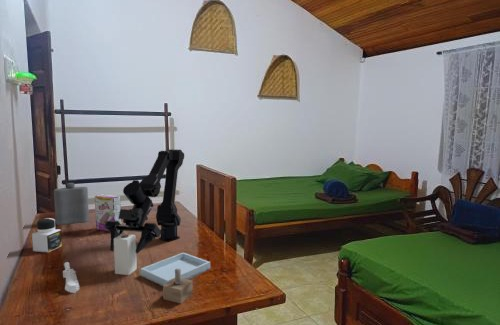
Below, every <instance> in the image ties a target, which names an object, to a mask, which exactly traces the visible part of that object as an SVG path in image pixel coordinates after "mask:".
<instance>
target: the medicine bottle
mask: <svg viewBox="0 0 500 325" xmlns="http://www.w3.org/2000/svg"><path fill="white" fill-rule="evenodd" d="M36 226H37V227H36V228H37V229H36V230H37V231H35V232H33V233H31V236H32V237H31V238H32V239H31V241H32V252H39V253H50V252H52V251H55V250H56V249H59V248H61V247H62V230H61V229H59V228H57V229H56V221H55V218H52V217H51V218H50V217H46V218H41V219H39V220H37V221H36Z"/></svg>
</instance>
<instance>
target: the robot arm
mask: <svg viewBox="0 0 500 325" xmlns="http://www.w3.org/2000/svg"><path fill="white" fill-rule="evenodd" d="M184 159H185V153H184V152H183V150H182V149H169V148H168V149H166V150H160V151H158V154H157V157H156V160H155V161H154V162H153V165H152V167H151V169H150V171H149V173H148V175H146V176H145V177H143V178H142V179H141V181H139V180H138V179H132V181H131V182H129V183H128V184H126V185H125V186H124V187H123V189H122V192H123V194H124V196H125V197H126V199H127V200H128V201H129V202H130V204H132V205H133V206H132V209H131V208H129V209H123V208H121V209H120V213H119V218H118V219H121V220H122V222H123V223H124V224H122V225H121V224H120V223H119V222H118V221H112V220H109V221H107V222H106V224H105V226H104V227H105V228H106V229H107V230H108V231H107V232H109V234H110V249H109V250H110V251H111V252H114V238H116V237H118V236H120V235H121V234H123V232H137V233H140V235H141V236H140V239H139V241H138V244H137V245H136V254H139V253H140V252H141V251H142V250H143V248H145V247H146V246H147V245H148V244H149V243H150V242H152V240H153V241H154V240H156V239H157V238H158V239H160V240H162V241H164V242H169V243H170V242H172V241H174V240H178V239H180V235H179V236H178V226H181V221H182V220H181V219H182V218H181V216H180V215H179V214H178V208H177V206H176V204H175V199H176V189H177V182H178V172H179V169H180V168H181V167H182V166H183V163H184ZM165 171H166V172H165ZM164 174H165V180H164V187H163V188H164V189H163V196H162V202H161V203H160V204H158V205H157V208H156V209H157V210H156V214H155V218H156V223H155V222H146V221H148V219H149V217H148V213H149V211H150V209H151V208H154V202H153V200H152V199H151V198H156V197H158V196H159V194H160V193H161V188H162V185H161V179H162V178H163V175H164ZM159 226H160V228H159Z"/></svg>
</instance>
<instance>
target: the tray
mask: <svg viewBox="0 0 500 325" xmlns="http://www.w3.org/2000/svg"><path fill="white" fill-rule="evenodd" d="M175 269H181V278H183V279H187V280H191V279H192V278H194V277H196V276H199V275H201V274H203V273H205V272H207V271H210V270H211V261H208V260H206V259H204V258H200V257H197V256H195V255H192V254H189V253H186V252H181V253H178V254H176V255H173V256H171V257H167V258H165V259H162V260H159V261H157V262H154V263H152V264H149V265H147V266H143V267H142V268H140V276H141V277H143V278H145V279H147V280H148V281H151V282H153V283H155V284H157V285H159V286H161V287H163V285H165V284H166V283H168V282H169V281H171V280H172V279H174V278H175Z"/></svg>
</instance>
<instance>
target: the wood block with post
mask: <svg viewBox="0 0 500 325" xmlns="http://www.w3.org/2000/svg"><path fill="white" fill-rule="evenodd" d="M193 294H194V281H193V280H192V279H188V280H187V279H183V278H181V269H175V278H174V279H172V280H171V281H169V282H168V283H166V284H165V285H163V286H162V296H163V300H165V301H169V302H173V303H177V304H182V303H183V302H185V301H186V300H187V299H189V298H190V297H191V296H192V295H193Z"/></svg>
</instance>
